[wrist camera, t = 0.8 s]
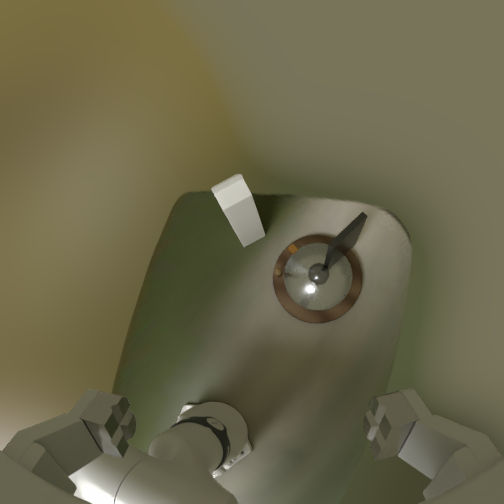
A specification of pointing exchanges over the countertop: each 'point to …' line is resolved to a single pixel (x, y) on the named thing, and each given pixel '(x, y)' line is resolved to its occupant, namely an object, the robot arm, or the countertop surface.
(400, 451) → the robot arm
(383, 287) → the countertop surface
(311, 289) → the grey finned round piece
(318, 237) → the post base
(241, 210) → the milk
